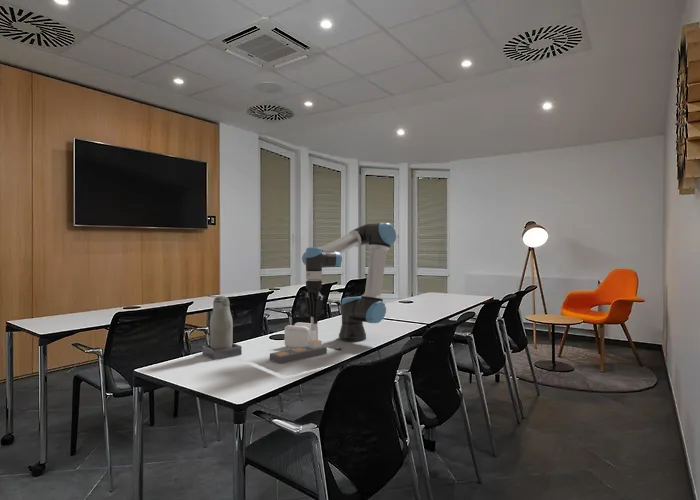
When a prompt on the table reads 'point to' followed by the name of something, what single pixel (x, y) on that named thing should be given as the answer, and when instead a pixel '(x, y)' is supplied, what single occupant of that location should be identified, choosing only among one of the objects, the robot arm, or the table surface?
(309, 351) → the power strip
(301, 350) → the button
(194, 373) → the table surface
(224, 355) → the bottle coaster rim
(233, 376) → the table surface
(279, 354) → the button
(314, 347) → the button
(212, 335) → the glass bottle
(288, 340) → the cable organizer
